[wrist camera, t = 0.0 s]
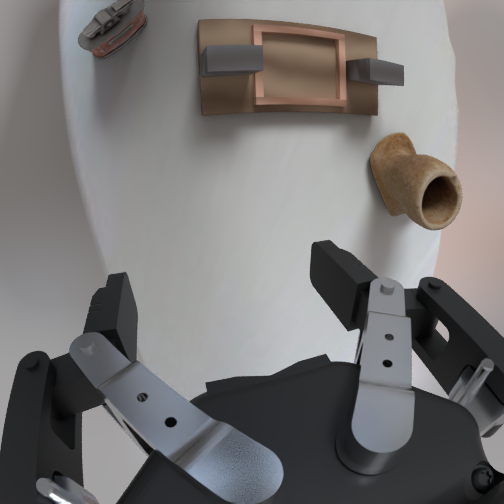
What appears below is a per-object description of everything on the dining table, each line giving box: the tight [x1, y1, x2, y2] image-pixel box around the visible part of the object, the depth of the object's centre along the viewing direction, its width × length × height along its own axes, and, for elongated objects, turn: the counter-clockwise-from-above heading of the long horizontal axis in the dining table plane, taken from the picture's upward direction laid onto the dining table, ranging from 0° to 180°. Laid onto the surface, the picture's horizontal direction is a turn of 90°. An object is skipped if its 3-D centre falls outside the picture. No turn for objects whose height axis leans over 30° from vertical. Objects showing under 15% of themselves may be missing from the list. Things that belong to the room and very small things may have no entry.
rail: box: [198, 19, 404, 116], centre depth 32 cm, size 13×26×8 cm, turn 94°
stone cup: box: [370, 133, 462, 230], centre depth 41 cm, size 15×12×15 cm
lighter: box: [78, 0, 147, 59], centre depth 23 cm, size 8×3×10 cm, turn 129°
